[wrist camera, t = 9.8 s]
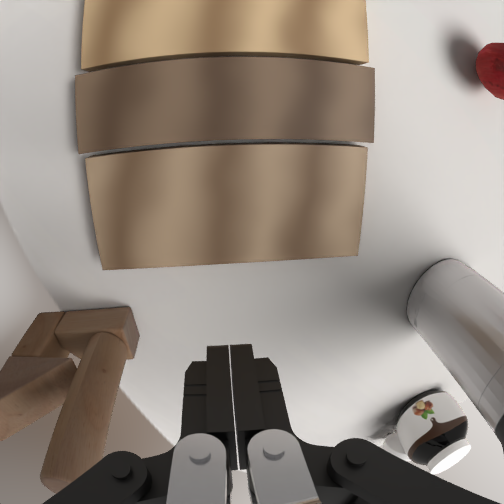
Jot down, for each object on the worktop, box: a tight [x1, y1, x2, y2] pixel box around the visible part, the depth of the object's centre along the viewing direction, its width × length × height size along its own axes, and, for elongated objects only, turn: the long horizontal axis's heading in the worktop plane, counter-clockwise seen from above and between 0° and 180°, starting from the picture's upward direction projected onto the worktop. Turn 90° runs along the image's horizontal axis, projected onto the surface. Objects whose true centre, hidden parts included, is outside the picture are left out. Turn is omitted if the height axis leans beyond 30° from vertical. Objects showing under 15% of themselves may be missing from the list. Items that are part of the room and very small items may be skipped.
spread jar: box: [383, 390, 471, 474], centre depth 36 cm, size 12×11×12 cm
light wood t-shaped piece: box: [0, 307, 140, 494], centre depth 20 cm, size 4×11×18 cm, turn 94°
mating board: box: [75, 57, 375, 154], centre depth 21 cm, size 22×6×2 cm, turn 91°
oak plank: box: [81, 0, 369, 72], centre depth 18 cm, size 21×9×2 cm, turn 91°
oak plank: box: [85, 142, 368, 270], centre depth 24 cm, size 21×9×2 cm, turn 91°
